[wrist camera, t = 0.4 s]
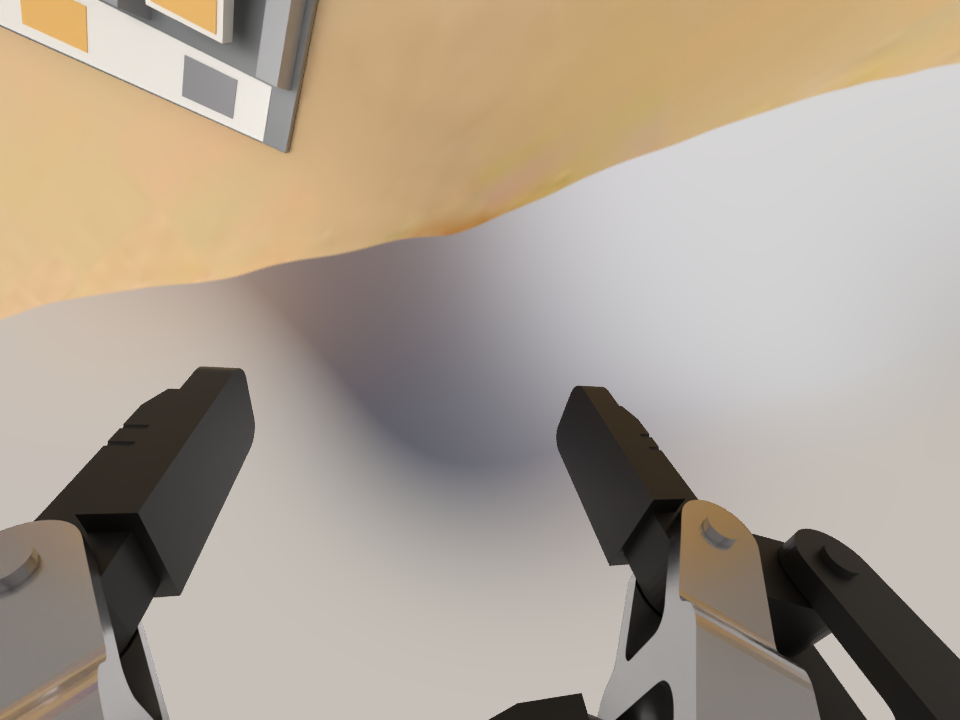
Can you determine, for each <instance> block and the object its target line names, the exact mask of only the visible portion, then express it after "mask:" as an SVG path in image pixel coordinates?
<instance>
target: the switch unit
mask: <svg viewBox="0 0 960 720" xmlns="http://www.w3.org/2000/svg"><path fill="white" fill-rule="evenodd" d="M317 2H318V0H234V16H233V40H232V42H230V43H224V44H222V43H220V42H218V41H216V40H214V39H212V38H210V37H208V36H206V35H204V34H202V33H200V32H199V31H197V30H195V29H193V28H191V27H189V26H187V25H185V24H183V23H181V22H179V21H177V20H175V19H173V18H171V17H169V16H167V15H165V14H164V13H162V12H160V11H158V10H156V9H154V8H152V7H150V6H148V5H146V2H145V0H0V26H1V27H3V28H5V29H8V30H10V31H12V32H14V33H16V34H19V35H21V36H23V37H25V38H28V39H30V40H32V41H34V42H37V43H39V44H41V45H43V46H46V47H48V48H50V49H52V50H55V51H57V52H59V53H61V54H64V55H66V56H68V57H70V58H73V59H75V60H77V61H79V62H82V63H84V64H86V65H88V66H91V67H93V68H95V69H97V70H100V71H102V72H104V73H106V74H109V75H111V76H113V77H115V78H118V79H120V80H122V81H124V82H127V83H129V84H131V85H133V86H136V87H138V88H140V89H142V90H145V91H147V92H149V93H151V94H154V95H156V96H158V97H160V98H163V99H165V100H167V101H169V102H172V103H174V104H176V105H178V106H181V107H183V108H185V109H187V110H189V111H192V112H194V113H196V114H198V115H201V116H203V117H205V118H207V119H210V120H212V121H214V122H216V123H219V124H221V125H223V126H225V127H228V128H230V129H232V130H234V131H237V132H239V133H241V134H243V135H246V136H248V137H250V138H252V139H255V140H257V141H259V142H261V143H264V144H266V145H268V146H270V147H273V148H275V149H277V150H279V151H282V152H284V153H288V152H289V149H290V143H291V138H292V133H293V128H294V122H295V117H296V112H297V107H298V101H299V96H300V91H301V86H302V80H303V75H304V70H305V65H306V60H307V54H308V49H309V44H310V39H311V33H312V28H313V23H314V18H315V12H316V7H317Z"/></svg>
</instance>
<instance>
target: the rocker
mask: <svg viewBox="0 0 960 720" xmlns="http://www.w3.org/2000/svg"><path fill="white" fill-rule="evenodd" d="M145 2H146V5H148V6H150V7H152V8H154V9H156V10H158V11H160V12H162V13H164V14H165V15H167V16H169V17H171V18H173V19H175V20H177V21H179V22H181V23H183V24H185V25H187V26H189V27H191V28H193V29H195V30H197V31H199V32H200V33H202V34H204V35H206V36H208V37H210V38H212V39H214V40H216V41H218V42H220V43H222V44H224V43H230V42H232V40H233V16H234V0H145Z"/></svg>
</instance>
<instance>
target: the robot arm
mask: <svg viewBox="0 0 960 720" xmlns="http://www.w3.org/2000/svg"><path fill="white" fill-rule="evenodd" d="M254 431H255V422H254V415H253V410H252V405H251V400H250V395H249V391H248V385H247V380H246V376H245V373H244V371H243V370H242V369H240V368H221V367H199V368H197V369H196V370H195V371H194V372H193V374H192V375H191V376H190V377H189V378H188V380H187V381H186V382H185V383H184V385H183V386H182V387H181V388H180V389H167V390H165V391H164V392H162V393H161V394H159V395H157V396H156V397H154V398H152V399H151V400H149V401H147V402H145V403H144V404H142V405H141V406H140V407H139V408H138V409H137V410H136V411H135V412H134V414H133V415H132V416H131V417H130V418H129V419H128V420H127V421H126V422H125V423H124V427H123V428H120V429H119V430H118V431H117V432H116V433H115V434H114V435H113V436H112V437H111V438H110V440H109V441H108V445H107V446H103V447H102V448H101V449H100V450H99V451H98V453H97V454H96V455H95V456H94V457H93V458H92V459H91V460H90V461H89V462H88V463H87V464H86V466H85V467H84V468H83V469H82V470H81V471H80V472H79V473H78V474H77V475H76V477H74V479H73V480H72V481H71V482H70V483H69V484H68V485H67V486H66V487H65V489H63V491H62V492H61V493H60V494H59V495H58V496H57V497H56V498H55V499H54V500H53V501H52V502H51V504H50V505H49V506H48V507H47V508H46V509H45V510H44V511H43V512H42V513H41V514H40V515H39V516H38V518H37V519H36V520H34V521H33V522H28V523H24V524H21V525H16V526H13V527H10V528H7V529H5V530H2V531H0V720H169V716H168V713H167V709H166V705H165V702H164V699H163V695H162V692H161V688H160V684H159V681H158V677H157V674H156V670H155V667H154V663H153V660H152V656H151V653H150V649H149V645H148V643H147V638H146V635H145V631H144V628H143V625H142V623H141V619H142V617H143V615H144V614H145V612H146V610H147V608H148V606H149V604H150V602H151V600H152V599H153V597H166V596H179V595H181V593H182V591H183V588H184V586H185V584H186V582H187V580H188V578H189V576H190V574H191V572H192V570H193V567H194V565H195V563H196V561H197V559H198V557H199V555H200V553H201V550H202V549H203V546H204V544H205V542H206V540H207V538H208V536H209V534H210V532H211V530H212V528H213V526H214V523H215V521H216V519H217V517H218V515H219V513H220V511H221V509H222V507H223V505H224V502H225V500H226V498H227V496H228V494H229V492H230V490H231V488H232V485H233V484H234V481H235V479H236V477H237V475H238V473H239V471H240V469H241V467H242V465H243V462H244V460H245V458H246V456H247V454H248V452H249V450H250V448H251V445H252V442H253V438H254ZM556 440H557V446H558V450H559V452H560V455H561V457H562V459H563V461H564V464H565V466H566V468H567V470H568V473H569V475H570V477H571V479H572V482H573V484H574V486H575V488H576V491H577V493H578V495H579V497H580V500H581V502H582V504H583V507H584V509H585V511H586V513H587V516H588V518H589V520H590V522H591V525H592V527H593V529H594V531H595V534H596V536H597V538H598V540H599V543H600V545H601V547H602V550H603V552H604V554H605V556H606V558H607V561H608V563H609V565H610V566H612V565H625V564H629V565H630V567H631V569H632V571H633V575H632V576H631V578H630V580H629V583H628V589H627V595H626V601H625V607H624V613H623V619H622V625H621V631H620V637H619V644H618V650H617V656H616V662H615V666H614V670H613V673H612V675H611V678H610V680H609V682H608V684H607V687H606V689H605V691H604V694H603V697H602V700H601V704H600V708H599V712H598V717H595V716H593V715H590V714H588V713H587V710H586V706H585V703H584V700H583V696H582V694H581V693H580V694H573V695H567V696H561V697H554V698H548V699H542V700H536V701H530V702H524V703H517V704H516V705H514V706H512V707H510V708H509V709H507V710H505V711H503V712H502V713H500V714H498V715H496V716H495V717H493V718H491V719H489V720H867V719H866V718H865V716H864V715H863V714H862V712H861V711H860V709H859V708H858V707H857V705H856V704H855V702H854V701H853V700H852V698H851V697H850V696H849V694H848V693H847V691H846V690H845V689H844V687H843V686H842V684H841V683H840V682H839V680H838V679H837V678H836V676H835V674H834V673H833V672H832V670H831V669H830V668H829V666H828V665H827V663H826V662H825V661H824V659H823V658H822V656H821V655H820V654H819V652H818V651H817V649H816V648H815V647H814V644H815V643H817V642H818V641H820V640H821V639H823V638H824V637H826V636H827V635H829V634H830V633H833V634H834V636H835V637H836V638H837V640H838V641H839V642H840V644H841V645H842V646H843V647H844V649H845V650H846V651H847V653H848V654H849V655H850V656H851V658H852V659H853V660H854V662H855V663H856V664H857V666H858V667H859V668H860V669H861V671H862V672H863V673H864V675H865V676H866V677H867V679H868V680H869V681H870V682H871V684H872V685H873V686H874V688H875V689H876V690H877V692H878V693H879V694H880V695H881V697H882V698H883V699H884V701H885V702H886V703H887V705H888V706H889V708H890V709H891V711H892V713H893V715H894V716H895V719H896V720H960V659H959V658H958V657H957V656H956V655H955V654H954V653H953V652H952V651H951V650H950V649H949V648H948V647H947V646H946V645H945V644H944V643H943V642H942V640H940V638H939V637H938V636H937V635H936V634H935V633H934V632H933V631H932V630H931V629H930V628H929V627H928V626H927V625H926V624H925V623H924V622H923V621H922V620H921V619H920V618H919V617H918V616H917V615H916V614H915V613H914V612H913V611H912V609H911V608H910V607H909V606H908V605H907V604H906V603H905V602H904V601H903V600H902V599H901V598H900V597H899V596H898V595H897V594H896V593H895V592H894V591H893V590H892V589H891V588H890V587H889V586H888V585H887V584H886V583H885V582H884V581H883V580H882V579H881V578H880V576H879V575H877V573H876V572H875V571H874V570H873V569H872V568H871V567H870V566H869V565H868V564H867V563H866V562H865V561H864V560H863V559H862V558H861V557H860V556H859V555H857V554H856V553H855V552H854V551H853V550H851V549H850V548H849V547H847V546H845V545H844V544H843V543H841V542H840V541H838V540H836V539H835V538H833V537H831V536H829V535H827V534H825V533H822V532H820V531H817V530H812V529H801V530H798V531H797V532H796V533H795V534H794V535H793V536H792V537H791V538H790V539H789V540H788V541H787V542H785V543H784V542H781V541H777V540H773V539H770V538H766V537H762V536H758V535H755V534H751V532H750V531H749V530H748V528H747V527H746V526H745V525H744V524H743V523H742V522H741V521H740V520H739V519H738V518H737V517H735V516H734V515H733V514H732V513H730V512H729V511H727V510H726V509H724V508H722V507H720V506H718V505H716V504H713V503H711V502H708V501H704V500H698V499H697V497H696V496H695V495H694V493H693V492H692V491H691V489H690V488H689V487H688V485H687V484H686V483H685V481H684V480H683V479H682V477H681V476H680V475H679V473H678V472H677V471H676V469H675V468H674V467H673V465H672V464H671V463H670V461H669V460H668V459H667V457H666V456H665V455H664V453H663V452H662V451H661V450H659V448H658V445H657V444H656V443H655V441H654V440H653V439H652V437H649V433H648V432H647V431H646V429H645V428H644V427H643V425H642V424H641V423H640V421H639V420H638V419H637V418H636V417H635V416H633V415H632V414H631V413H629V412H628V411H627V410H626V409H625V408H623V407H622V406H619V405H618V404H617V402H616V401H615V400H614V398H613V397H612V395H611V394H610V393H609V391H608V390H607V389H606V388H604V387H593V386H576V387H575V388H574V389H573V390H572V392H571V394H570V397H569V399H568V402H567V405H566V407H565V410H564V412H563V415H562V418H561V420H560V423H559V425H558V429H557V434H556Z"/></svg>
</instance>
